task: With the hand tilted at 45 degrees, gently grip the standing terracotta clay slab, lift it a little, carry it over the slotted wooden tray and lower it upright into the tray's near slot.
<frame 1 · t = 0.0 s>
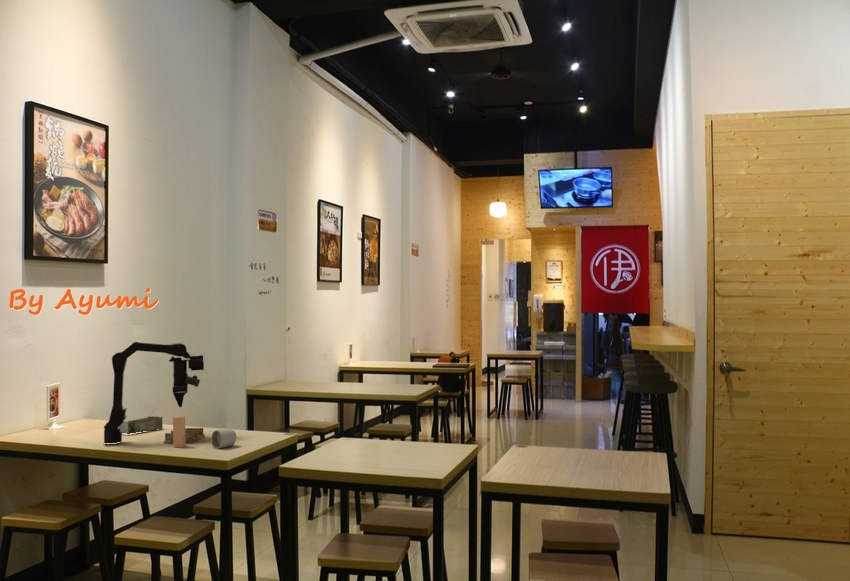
hand: (180, 405, 313), 15 cm above the table, tool pointing down, fingers open, 9 cm apart
slotted wooden tray: (184, 440, 308), on the table
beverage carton: (141, 432, 331), on the table
grey cup: (221, 447, 292), on the table
clay slab: (179, 446, 294), on the table
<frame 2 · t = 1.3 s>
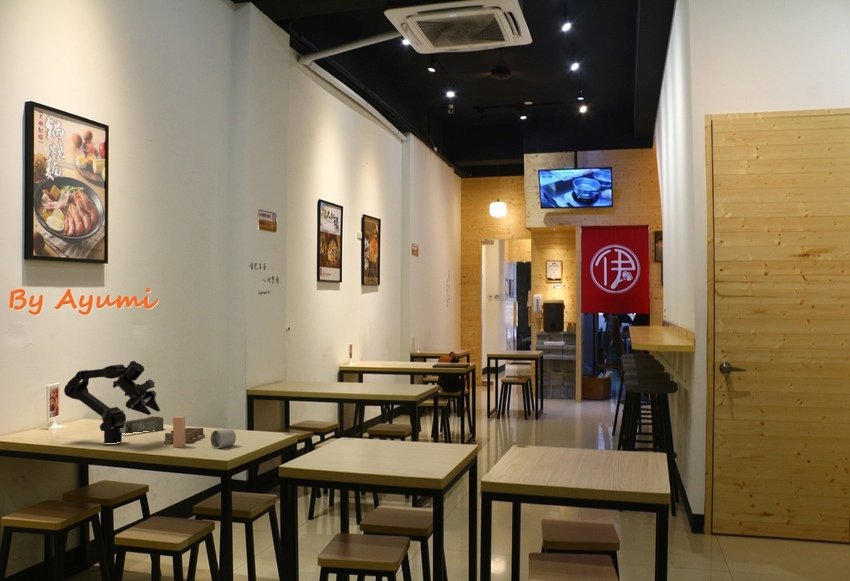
hand: (154, 412, 301), 14 cm above the table, tool tilted 45°, fingers open, 9 cm apart
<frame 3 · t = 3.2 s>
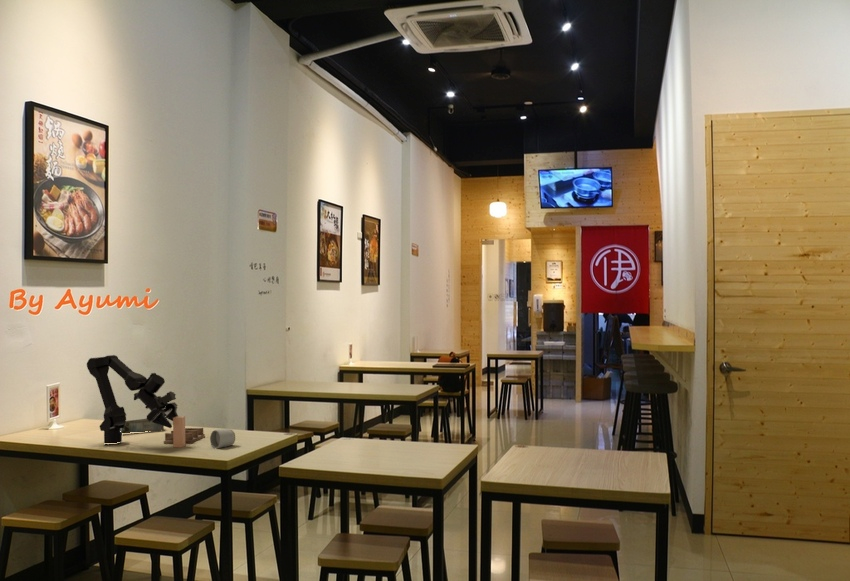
hand: (176, 425, 295), 9 cm above the table, tool tilted 45°, fingers open, 9 cm apart
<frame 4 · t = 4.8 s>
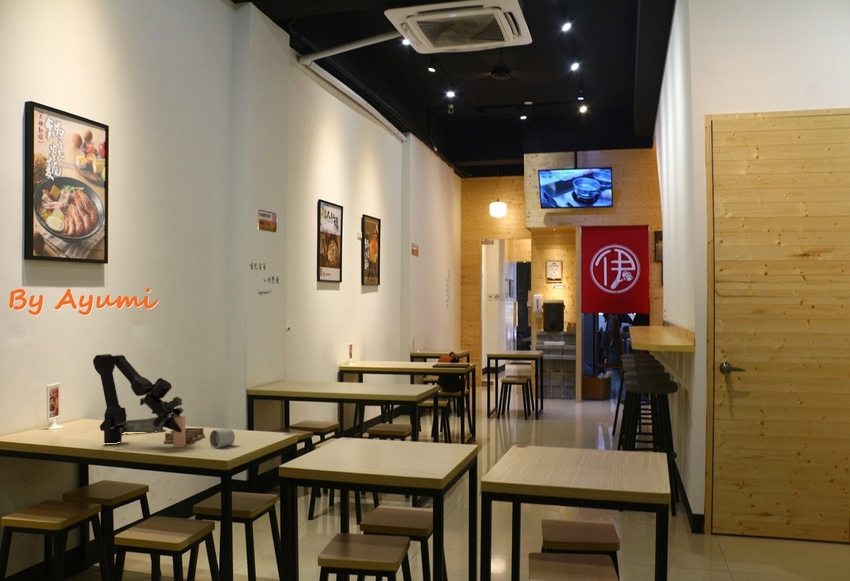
hand: (182, 430, 294), 7 cm above the table, tool tilted 45°, fingers closed on clay slab, 3 cm apart
clay slab: (179, 446, 294), on the table, touching gripper
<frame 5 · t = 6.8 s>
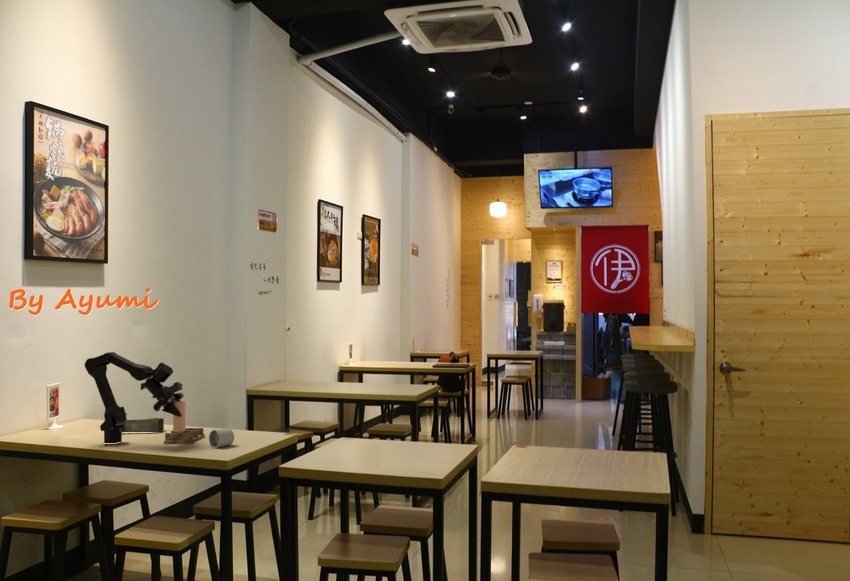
hand: (182, 415, 297), 13 cm above the table, tool tilted 45°, fingers closed on clay slab, 3 cm apart
clay slab: (179, 431, 297), point 6 cm above the table, touching gripper
when the fingers open (9 cm above the table, at t = 8.7 s): clay slab drops 1 cm, resting on slotted wooden tray.
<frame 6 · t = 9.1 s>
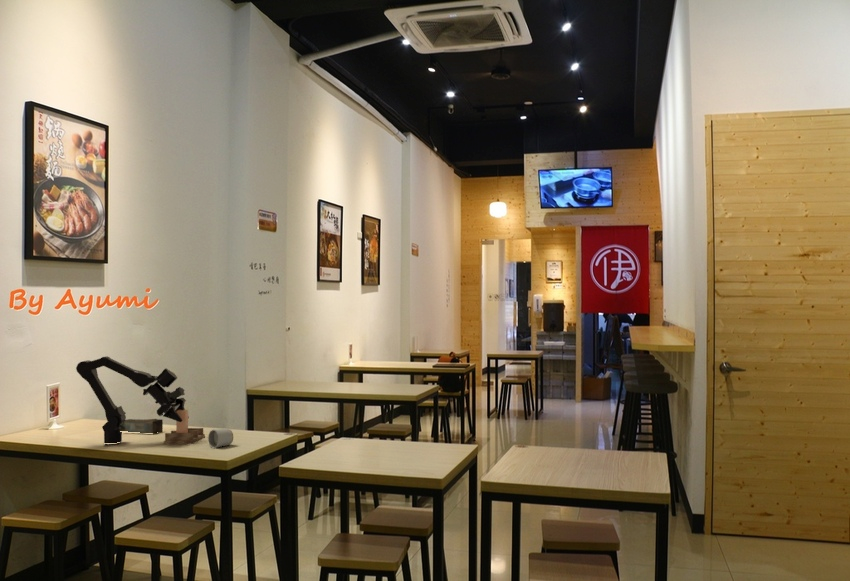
hand: (184, 419, 305), 9 cm above the table, tool tilted 45°, fingers open, 7 cm apart
clay slab: (182, 438, 305), point 1 cm above the table, touching slotted wooden tray
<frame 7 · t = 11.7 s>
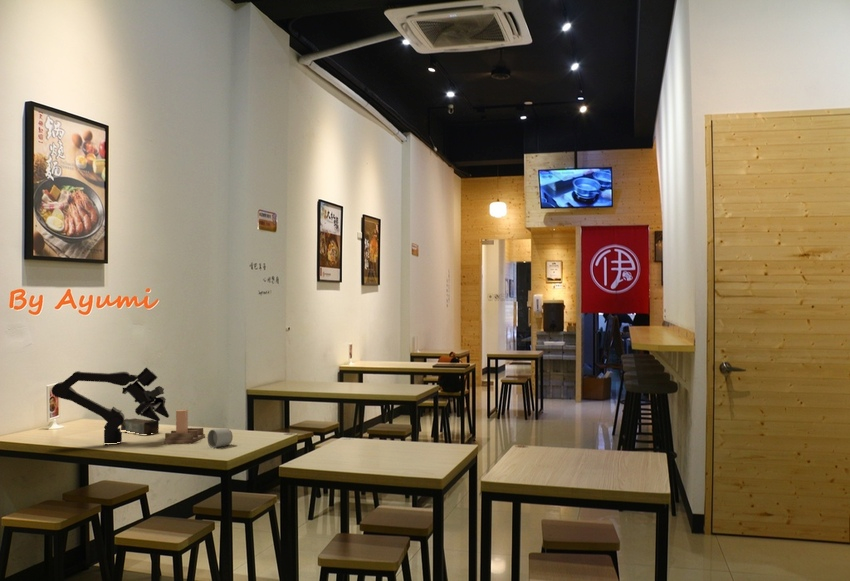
hand: (164, 418, 306), 10 cm above the table, tool tilted 45°, fingers open, 9 cm apart
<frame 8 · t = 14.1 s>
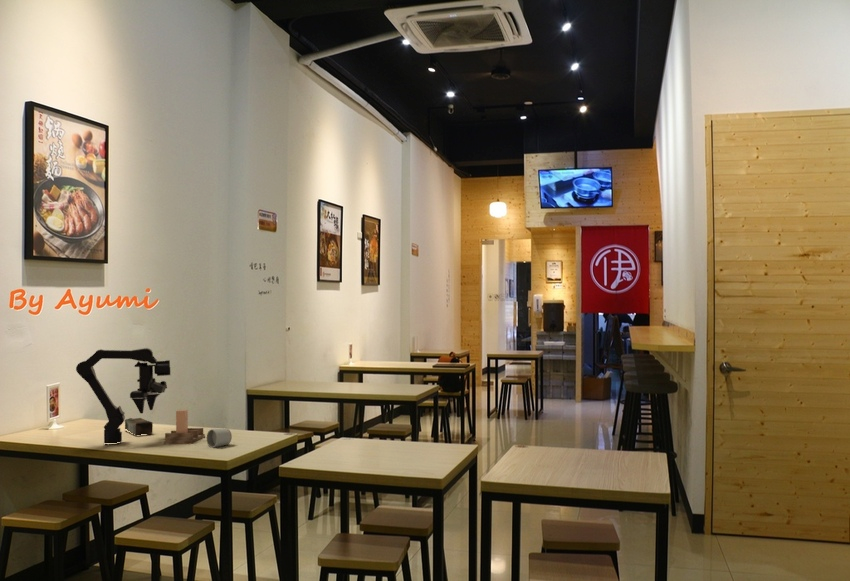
hand: (146, 411, 308), 13 cm above the table, tool pointing down, fingers open, 9 cm apart
at the end: clay slab 0.2 cm from the target spot on the slotted wooden tray, point 1.2 cm above the slotted wooden tray's base; clay slab tilted 0°; the gripper is holding nothing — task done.
